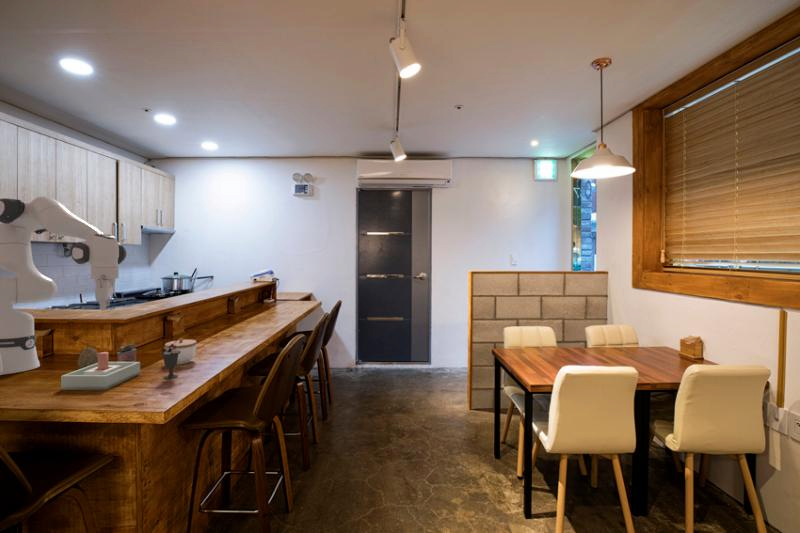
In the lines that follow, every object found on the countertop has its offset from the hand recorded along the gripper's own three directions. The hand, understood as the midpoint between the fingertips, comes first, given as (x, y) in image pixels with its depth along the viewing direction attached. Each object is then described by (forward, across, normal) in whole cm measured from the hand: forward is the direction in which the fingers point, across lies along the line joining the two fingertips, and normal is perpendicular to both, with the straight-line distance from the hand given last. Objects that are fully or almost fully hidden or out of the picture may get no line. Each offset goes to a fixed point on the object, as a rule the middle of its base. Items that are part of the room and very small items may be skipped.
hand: (104, 308), depth 147 cm
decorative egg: (+28, +10, +6) cm, 31 cm away
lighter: (+28, +7, -7) cm, 30 cm away
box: (+27, -9, -1) cm, 29 cm away
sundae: (+27, -17, -23) cm, 39 cm away
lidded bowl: (+28, +5, -27) cm, 39 cm away
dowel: (+26, -9, -1) cm, 28 cm away
